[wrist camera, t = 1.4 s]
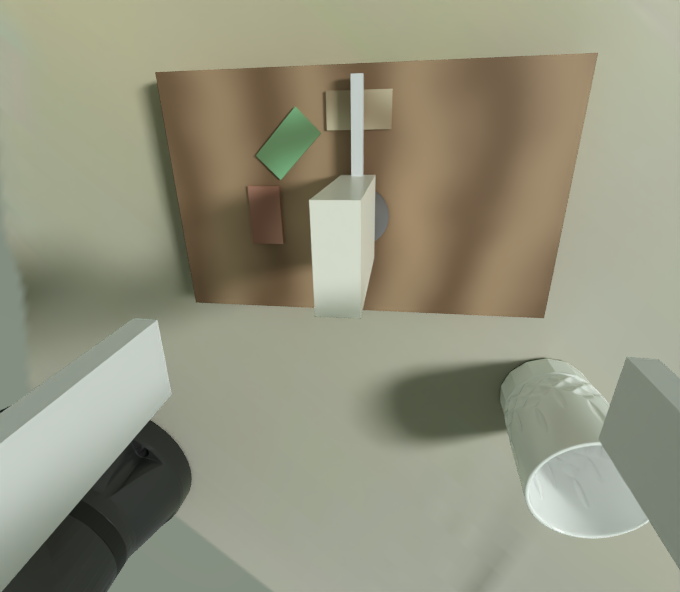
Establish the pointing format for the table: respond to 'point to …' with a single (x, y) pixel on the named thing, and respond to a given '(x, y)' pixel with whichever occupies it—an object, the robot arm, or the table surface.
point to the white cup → (565, 452)
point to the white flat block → (344, 228)
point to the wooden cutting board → (381, 177)
